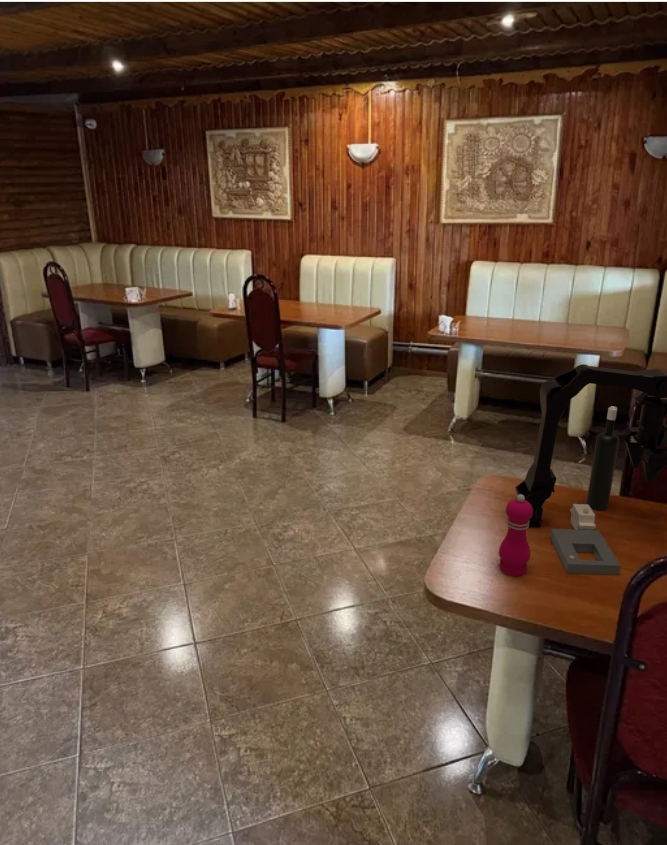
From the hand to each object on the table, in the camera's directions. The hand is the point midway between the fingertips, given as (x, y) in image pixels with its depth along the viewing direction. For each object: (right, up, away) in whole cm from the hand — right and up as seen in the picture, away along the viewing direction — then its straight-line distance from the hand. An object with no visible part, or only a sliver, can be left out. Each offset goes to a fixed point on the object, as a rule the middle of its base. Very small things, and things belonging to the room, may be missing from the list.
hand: (642, 475), depth 165 cm
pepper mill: (-38, -22, -13) cm, 46 cm away
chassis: (-19, -19, -8) cm, 28 cm away
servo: (-14, -14, +4) cm, 21 cm away
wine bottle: (-6, -10, +15) cm, 19 cm away
